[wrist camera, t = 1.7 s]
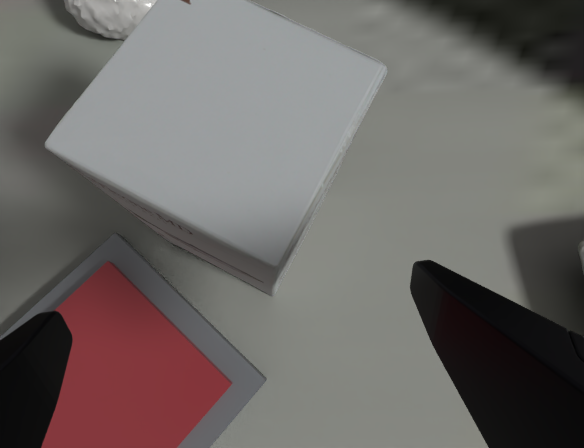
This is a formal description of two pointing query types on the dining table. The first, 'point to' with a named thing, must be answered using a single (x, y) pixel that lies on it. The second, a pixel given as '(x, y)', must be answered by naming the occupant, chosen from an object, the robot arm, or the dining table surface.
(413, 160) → the dining table surface
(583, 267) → the square plate
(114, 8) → the sitting furry creature
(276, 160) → the supplement box
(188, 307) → the ink pad tray
